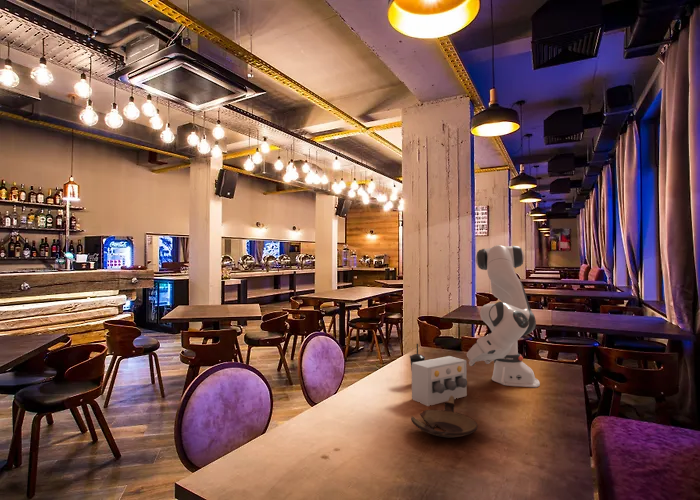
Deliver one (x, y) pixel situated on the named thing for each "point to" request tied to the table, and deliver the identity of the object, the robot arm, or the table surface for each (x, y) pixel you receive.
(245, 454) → the table surface
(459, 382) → the button
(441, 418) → the oil lamp
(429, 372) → the console
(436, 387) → the button
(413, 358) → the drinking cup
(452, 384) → the button
